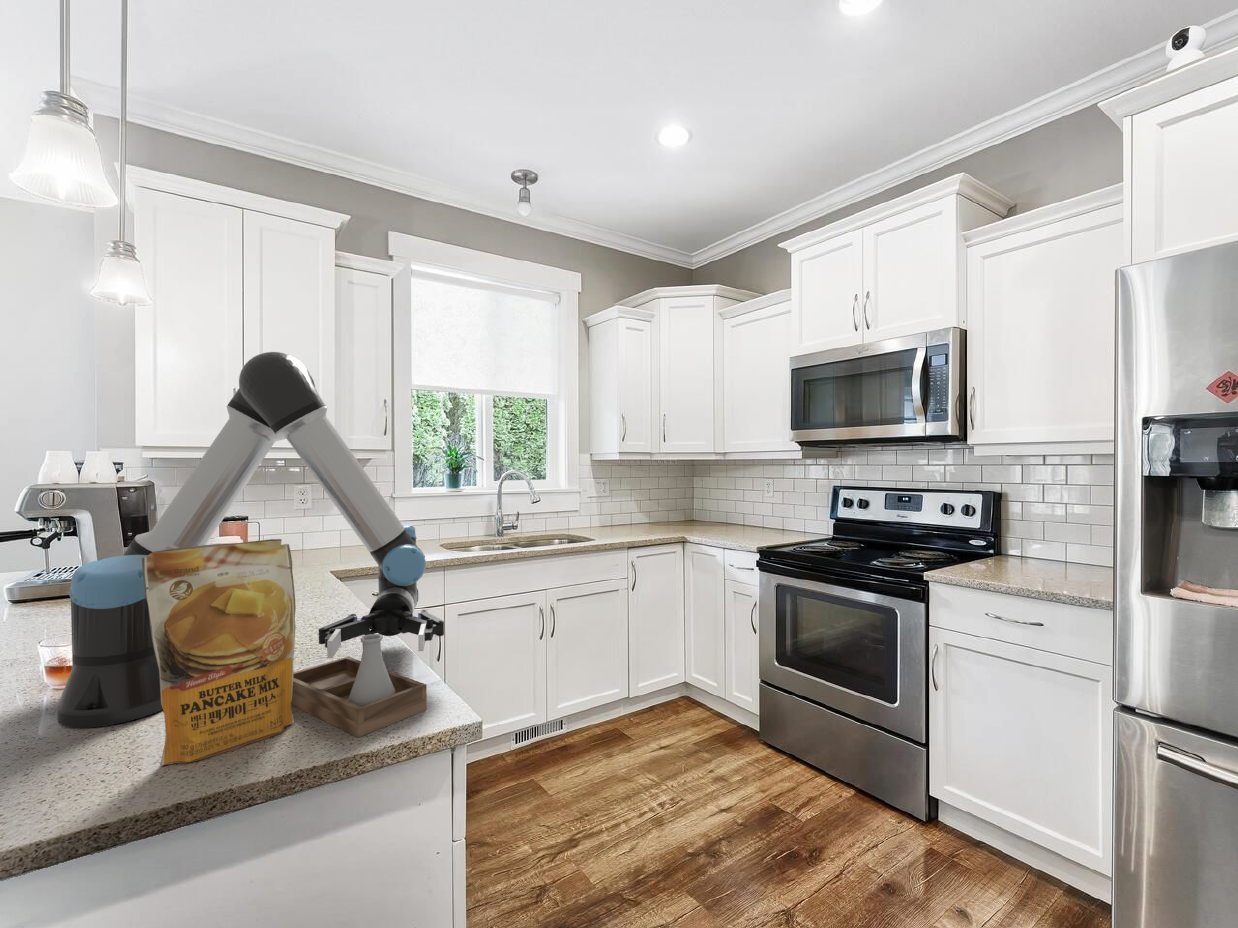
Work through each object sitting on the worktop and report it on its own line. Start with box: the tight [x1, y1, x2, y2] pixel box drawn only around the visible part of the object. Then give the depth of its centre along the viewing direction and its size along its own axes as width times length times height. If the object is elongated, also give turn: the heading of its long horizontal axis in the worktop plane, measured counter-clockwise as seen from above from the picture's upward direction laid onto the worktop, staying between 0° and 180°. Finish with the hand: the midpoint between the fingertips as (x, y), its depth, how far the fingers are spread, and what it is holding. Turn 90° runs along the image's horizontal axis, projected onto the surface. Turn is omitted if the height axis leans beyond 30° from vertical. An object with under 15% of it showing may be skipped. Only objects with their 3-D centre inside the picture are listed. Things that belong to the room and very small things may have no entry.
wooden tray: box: [291, 656, 428, 738], centre depth 98 cm, size 22×12×4 cm, turn 55°
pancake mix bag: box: [142, 538, 297, 767], centre depth 85 cm, size 7×19×28 cm, turn 140°
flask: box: [348, 633, 396, 707], centre depth 94 cm, size 7×7×10 cm
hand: (376, 646), depth 96 cm, fingers open, 13 cm apart
